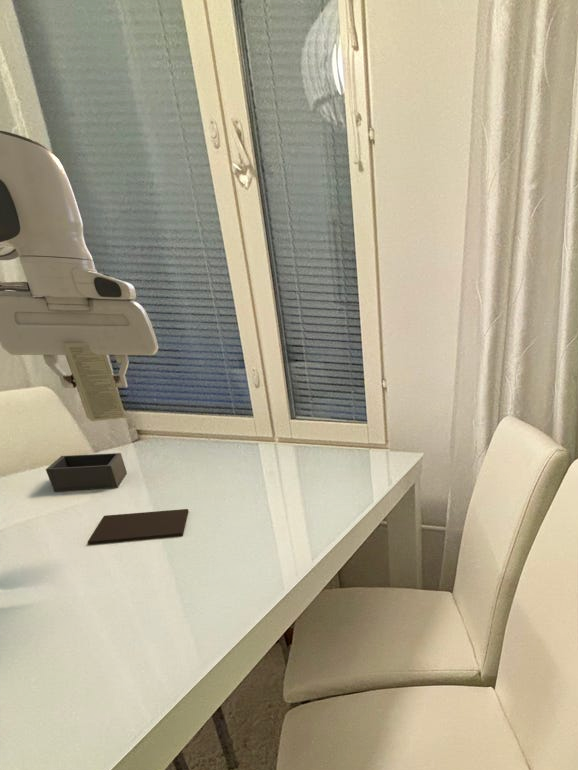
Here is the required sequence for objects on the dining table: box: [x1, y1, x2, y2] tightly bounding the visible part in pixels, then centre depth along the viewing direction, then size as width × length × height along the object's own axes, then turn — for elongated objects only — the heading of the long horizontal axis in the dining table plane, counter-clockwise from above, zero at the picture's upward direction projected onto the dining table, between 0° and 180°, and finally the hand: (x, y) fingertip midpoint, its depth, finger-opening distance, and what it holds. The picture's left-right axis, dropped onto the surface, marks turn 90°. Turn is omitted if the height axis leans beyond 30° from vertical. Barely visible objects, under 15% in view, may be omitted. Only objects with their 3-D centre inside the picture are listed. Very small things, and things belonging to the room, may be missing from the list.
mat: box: [87, 508, 190, 546], centre depth 97 cm, size 14×14×1 cm
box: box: [63, 342, 127, 422], centre depth 86 cm, size 5×4×11 cm
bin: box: [45, 452, 128, 493], centre depth 119 cm, size 12×13×5 cm
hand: (96, 387), depth 87 cm, fingers closed on box, 6 cm apart
